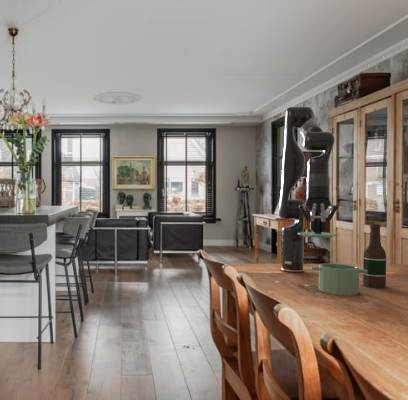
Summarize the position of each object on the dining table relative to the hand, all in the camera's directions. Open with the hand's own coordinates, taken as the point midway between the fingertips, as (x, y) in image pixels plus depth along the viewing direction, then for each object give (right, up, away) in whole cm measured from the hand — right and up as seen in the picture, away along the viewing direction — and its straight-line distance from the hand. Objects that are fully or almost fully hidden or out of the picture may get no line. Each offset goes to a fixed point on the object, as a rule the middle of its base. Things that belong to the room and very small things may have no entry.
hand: (317, 231), depth 163 cm
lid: (0, -1, 0) cm, 1 cm away
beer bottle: (+25, -22, +7) cm, 34 cm away
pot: (+5, -22, -4) cm, 23 cm away
